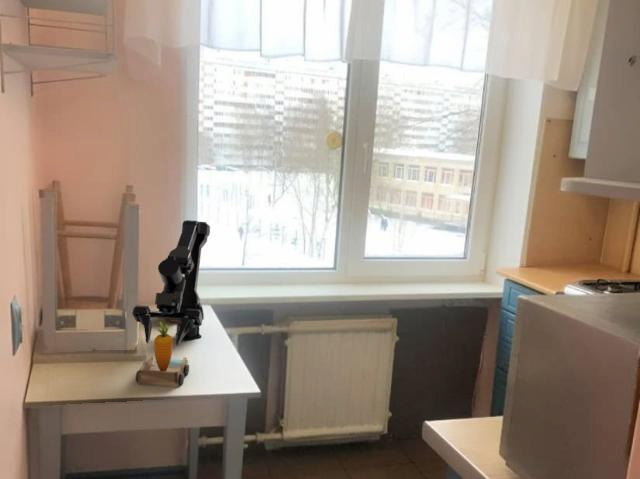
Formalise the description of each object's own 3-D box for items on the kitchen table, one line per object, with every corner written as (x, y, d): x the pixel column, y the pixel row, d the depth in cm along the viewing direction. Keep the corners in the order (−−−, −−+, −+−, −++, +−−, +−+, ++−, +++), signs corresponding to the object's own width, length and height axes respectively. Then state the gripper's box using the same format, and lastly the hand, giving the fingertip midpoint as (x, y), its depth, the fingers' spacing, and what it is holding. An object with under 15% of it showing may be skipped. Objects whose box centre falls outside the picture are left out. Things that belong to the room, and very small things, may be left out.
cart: (152, 359, 178) (152, 346, 177) (194, 362, 178) (194, 349, 177) (134, 384, 162) (134, 370, 161) (180, 387, 162) (181, 373, 161)
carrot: (173, 376, 166) (174, 325, 162) (154, 378, 164) (155, 327, 160) (171, 369, 170) (172, 319, 167) (153, 370, 168) (153, 320, 165)
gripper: (134, 277, 165) (120, 329, 157) (201, 282, 165) (191, 334, 157) (142, 296, 174) (130, 346, 166) (206, 300, 174) (197, 350, 166)
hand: (162, 343), depth 163 cm, fingers open, 8 cm apart
